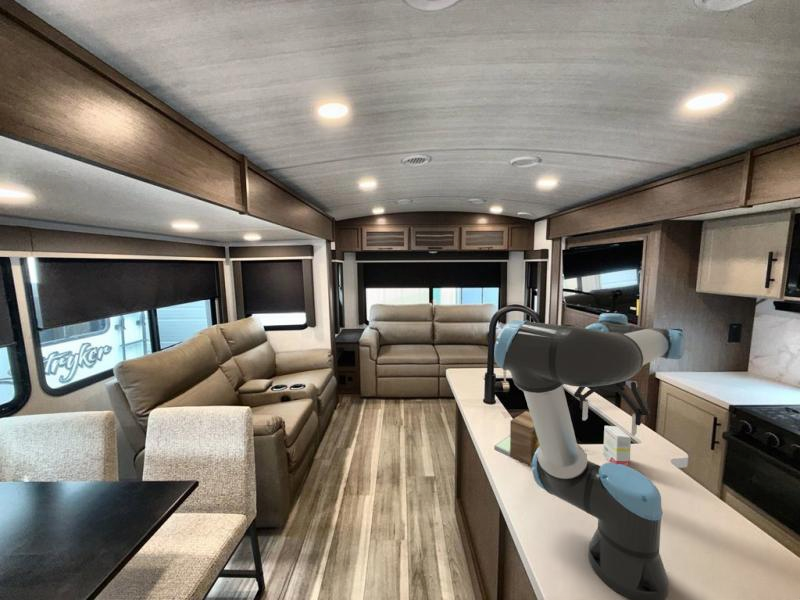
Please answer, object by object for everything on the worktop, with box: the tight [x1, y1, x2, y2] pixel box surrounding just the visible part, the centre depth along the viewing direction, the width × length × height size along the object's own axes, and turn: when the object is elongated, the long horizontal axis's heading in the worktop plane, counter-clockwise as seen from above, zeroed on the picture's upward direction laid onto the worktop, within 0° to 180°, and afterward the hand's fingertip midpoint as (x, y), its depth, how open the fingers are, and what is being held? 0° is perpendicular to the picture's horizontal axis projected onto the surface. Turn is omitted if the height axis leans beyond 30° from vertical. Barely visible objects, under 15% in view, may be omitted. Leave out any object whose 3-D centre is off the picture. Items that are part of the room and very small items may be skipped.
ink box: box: [602, 425, 632, 468], centre depth 114 cm, size 9×5×12 cm, turn 175°
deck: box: [493, 434, 533, 468], centre depth 120 cm, size 12×22×2 cm, turn 41°
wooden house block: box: [509, 410, 536, 467], centre depth 119 cm, size 12×8×14 cm, turn 131°
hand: (608, 426), depth 100 cm, fingers open, 13 cm apart
